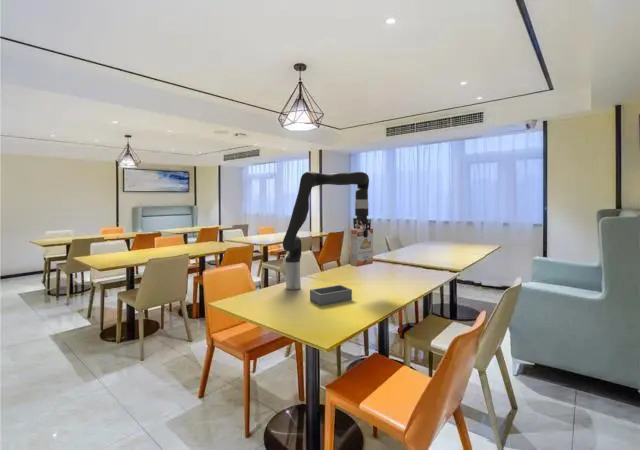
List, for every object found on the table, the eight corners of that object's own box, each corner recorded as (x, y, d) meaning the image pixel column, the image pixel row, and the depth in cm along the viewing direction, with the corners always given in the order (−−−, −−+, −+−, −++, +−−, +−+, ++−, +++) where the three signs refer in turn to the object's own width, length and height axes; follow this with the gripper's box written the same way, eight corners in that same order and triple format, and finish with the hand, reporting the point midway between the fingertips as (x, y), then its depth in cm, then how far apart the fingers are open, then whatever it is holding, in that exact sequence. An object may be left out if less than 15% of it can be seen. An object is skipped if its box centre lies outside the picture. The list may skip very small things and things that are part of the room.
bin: (310, 300, 188) (309, 289, 187) (340, 294, 197) (340, 284, 197) (320, 306, 177) (320, 294, 177) (351, 300, 187) (351, 289, 186)
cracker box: (357, 267, 187) (357, 229, 185) (349, 265, 191) (349, 229, 190) (373, 263, 196) (373, 228, 195) (365, 262, 201) (365, 227, 199)
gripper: (349, 207, 196) (349, 236, 197) (363, 208, 183) (364, 238, 184) (359, 207, 199) (359, 235, 201) (374, 207, 187) (374, 237, 188)
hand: (361, 236), depth 192 cm, fingers closed on cracker box, 6 cm apart
